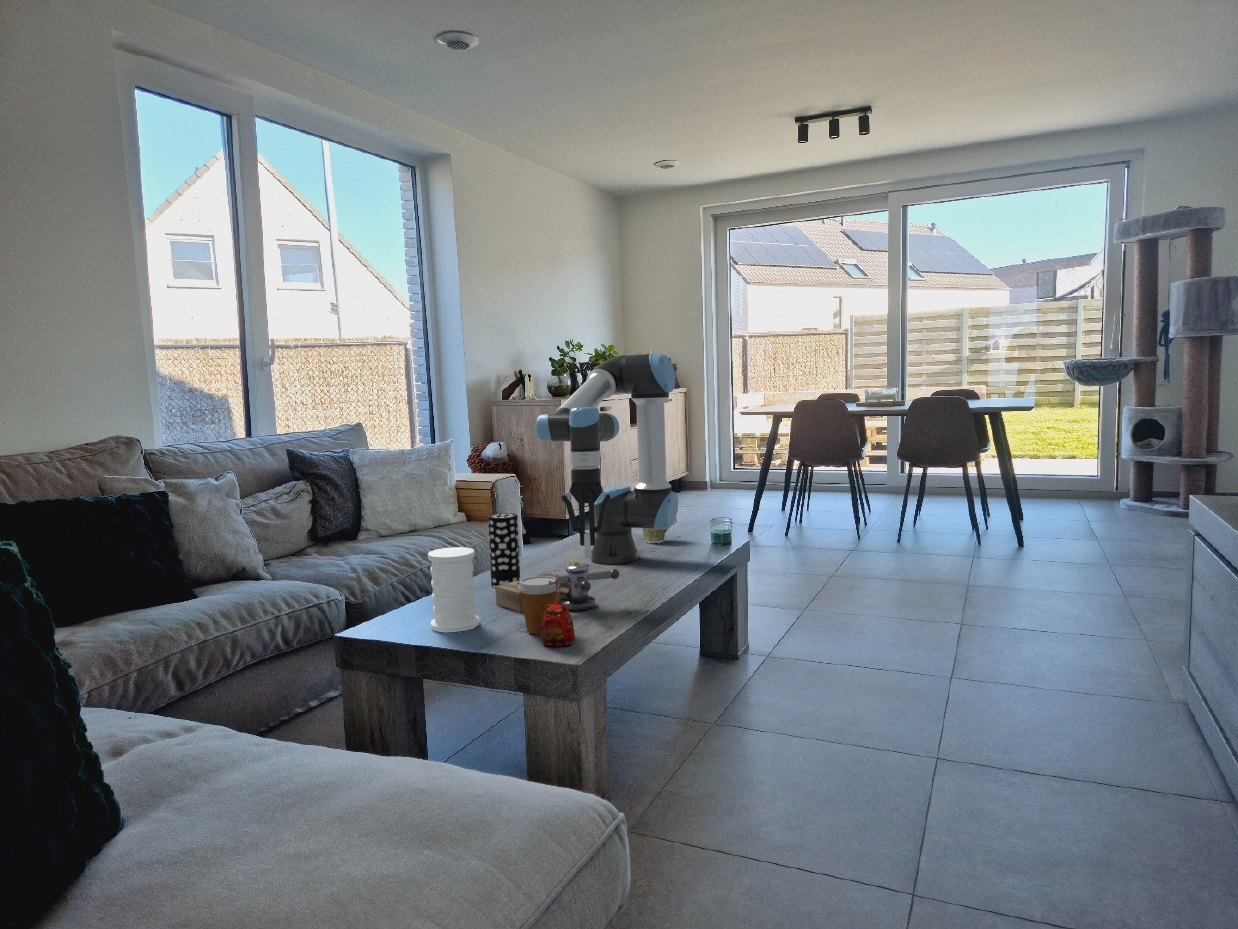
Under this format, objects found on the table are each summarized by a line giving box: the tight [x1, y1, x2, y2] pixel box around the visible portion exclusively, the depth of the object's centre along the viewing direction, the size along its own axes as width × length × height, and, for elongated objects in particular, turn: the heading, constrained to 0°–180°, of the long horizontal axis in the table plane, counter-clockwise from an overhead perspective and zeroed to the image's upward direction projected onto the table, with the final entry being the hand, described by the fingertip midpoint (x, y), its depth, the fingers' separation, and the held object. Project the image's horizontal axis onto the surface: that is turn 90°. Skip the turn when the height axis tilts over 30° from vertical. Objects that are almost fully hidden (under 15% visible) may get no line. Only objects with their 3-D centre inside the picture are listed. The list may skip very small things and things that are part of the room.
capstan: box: [551, 555, 620, 612], centre depth 204 cm, size 22×22×11 cm
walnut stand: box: [495, 572, 569, 613], centre depth 210 cm, size 18×16×6 cm
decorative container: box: [427, 546, 480, 632], centre depth 192 cm, size 12×12×18 cm
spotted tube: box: [487, 512, 521, 589], centre depth 229 cm, size 8×8×20 cm
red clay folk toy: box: [540, 573, 576, 648], centre depth 177 cm, size 8×7×15 cm
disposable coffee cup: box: [518, 575, 559, 634], centre depth 187 cm, size 10×10×12 cm
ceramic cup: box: [641, 518, 677, 543], centre depth 283 cm, size 13×10×10 cm
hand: (588, 557), depth 209 cm, fingers closed
